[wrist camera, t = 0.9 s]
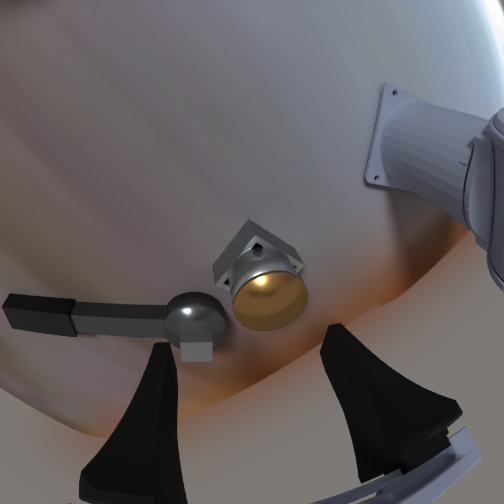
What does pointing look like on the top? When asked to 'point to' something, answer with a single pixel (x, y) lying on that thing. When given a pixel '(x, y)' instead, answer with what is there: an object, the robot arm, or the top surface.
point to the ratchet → (126, 320)
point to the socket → (261, 279)
